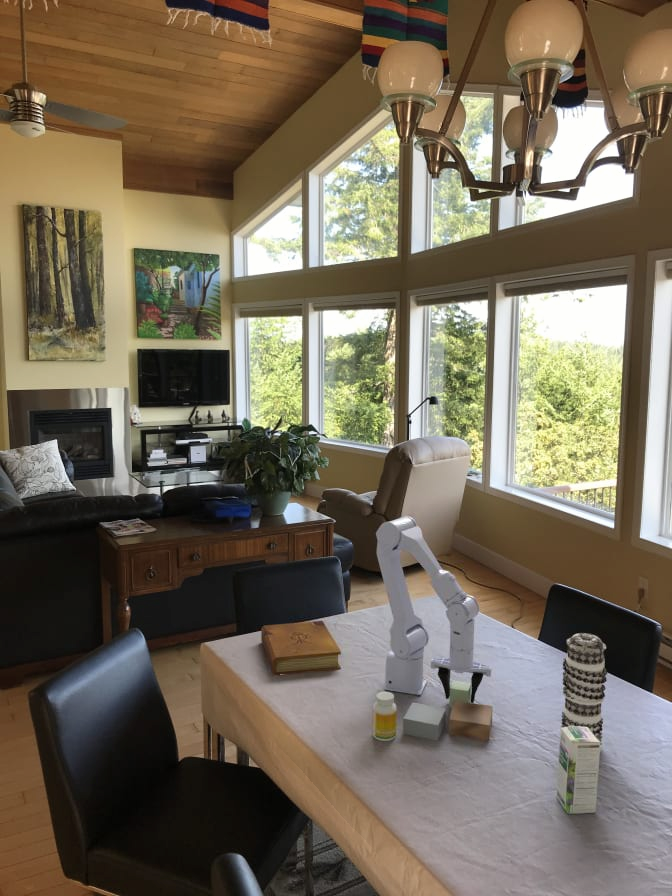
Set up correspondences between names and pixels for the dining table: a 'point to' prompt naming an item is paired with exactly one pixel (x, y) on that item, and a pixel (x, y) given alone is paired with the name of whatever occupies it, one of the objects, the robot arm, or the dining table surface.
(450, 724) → the walnut block
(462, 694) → the sage block
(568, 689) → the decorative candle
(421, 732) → the slate block
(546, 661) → the dining table surface
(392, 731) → the supplement bottle
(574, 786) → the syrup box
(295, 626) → the diary
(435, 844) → the dining table surface
